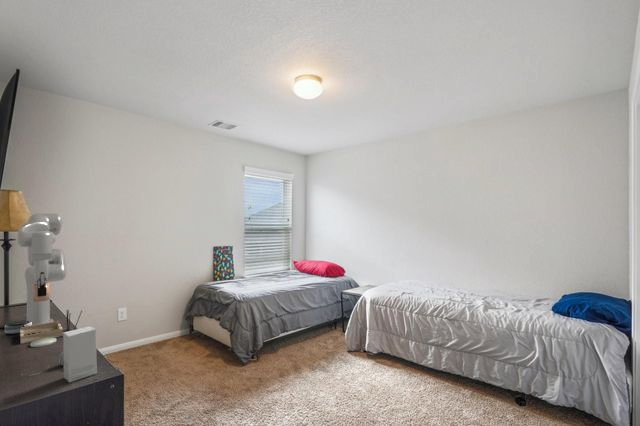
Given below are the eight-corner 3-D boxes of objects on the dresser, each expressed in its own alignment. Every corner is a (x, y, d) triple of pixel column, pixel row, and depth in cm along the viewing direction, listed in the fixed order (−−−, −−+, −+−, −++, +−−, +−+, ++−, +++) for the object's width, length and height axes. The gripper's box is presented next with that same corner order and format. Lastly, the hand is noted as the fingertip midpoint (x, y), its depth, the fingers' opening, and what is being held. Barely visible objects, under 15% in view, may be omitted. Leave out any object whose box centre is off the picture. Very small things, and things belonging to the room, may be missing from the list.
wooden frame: (20, 335, 160) (20, 327, 160) (59, 328, 170) (59, 320, 171) (20, 344, 148) (20, 334, 149) (63, 335, 159) (63, 327, 159)
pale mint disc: (29, 343, 149) (29, 341, 149) (55, 338, 155) (55, 336, 155) (30, 348, 142) (30, 346, 142) (57, 343, 148) (57, 341, 148)
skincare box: (91, 369, 119) (91, 325, 120) (97, 374, 115) (97, 328, 116) (62, 378, 113) (62, 331, 113) (68, 383, 109) (68, 335, 109)
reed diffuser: (57, 363, 126) (57, 309, 127) (80, 357, 131) (80, 306, 131) (60, 371, 118) (60, 314, 119) (84, 365, 123) (84, 310, 124)
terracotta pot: (33, 300, 160) (33, 276, 161) (49, 298, 164) (49, 274, 165) (33, 302, 156) (33, 277, 156) (50, 300, 160) (50, 276, 160)
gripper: (30, 257, 165) (30, 293, 164) (32, 259, 152) (32, 299, 151) (50, 255, 170) (50, 291, 169) (53, 257, 157) (53, 296, 156)
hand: (41, 294), depth 160 cm, fingers closed on terracotta pot, 6 cm apart
